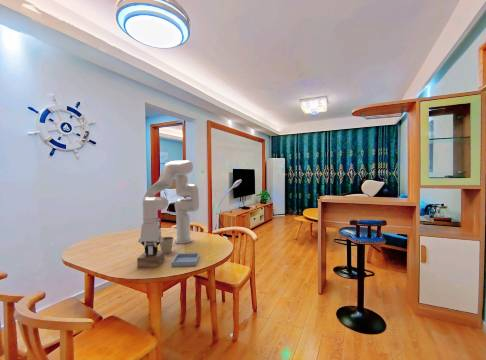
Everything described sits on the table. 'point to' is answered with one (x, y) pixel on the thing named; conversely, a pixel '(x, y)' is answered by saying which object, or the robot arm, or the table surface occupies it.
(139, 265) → the socket block
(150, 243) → the pin
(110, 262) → the table surface
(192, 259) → the tray
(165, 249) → the flower pot
